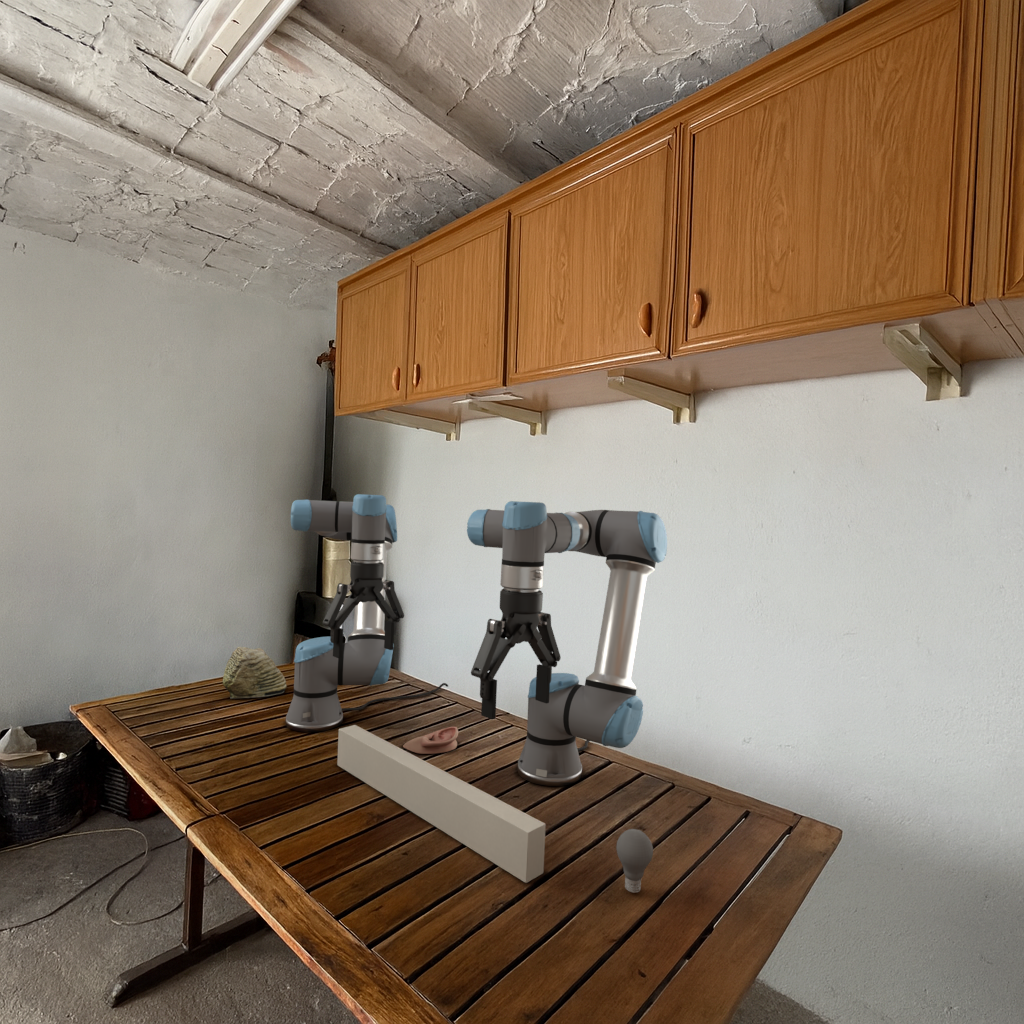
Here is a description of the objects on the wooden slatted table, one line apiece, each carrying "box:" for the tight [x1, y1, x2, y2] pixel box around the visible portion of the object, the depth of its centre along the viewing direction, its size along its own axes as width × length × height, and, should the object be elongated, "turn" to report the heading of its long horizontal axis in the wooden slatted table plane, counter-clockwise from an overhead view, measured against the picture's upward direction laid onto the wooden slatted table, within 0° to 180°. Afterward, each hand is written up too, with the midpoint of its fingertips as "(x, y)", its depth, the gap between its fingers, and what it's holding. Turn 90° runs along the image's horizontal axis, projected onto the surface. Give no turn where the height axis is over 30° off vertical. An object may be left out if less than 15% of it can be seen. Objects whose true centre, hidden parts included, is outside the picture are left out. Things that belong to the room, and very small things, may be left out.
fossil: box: [222, 646, 288, 699], centre depth 198 cm, size 9×18×15 cm, turn 132°
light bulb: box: [615, 828, 654, 894], centre depth 106 cm, size 6×6×10 cm
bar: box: [336, 724, 546, 884], centre depth 130 cm, size 61×4×9 cm, turn 46°
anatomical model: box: [402, 726, 459, 755], centre depth 163 cm, size 13×4×12 cm
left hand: (363, 653), depth 146 cm, fingers open, 13 cm apart
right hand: (516, 709), depth 112 cm, fingers open, 13 cm apart
